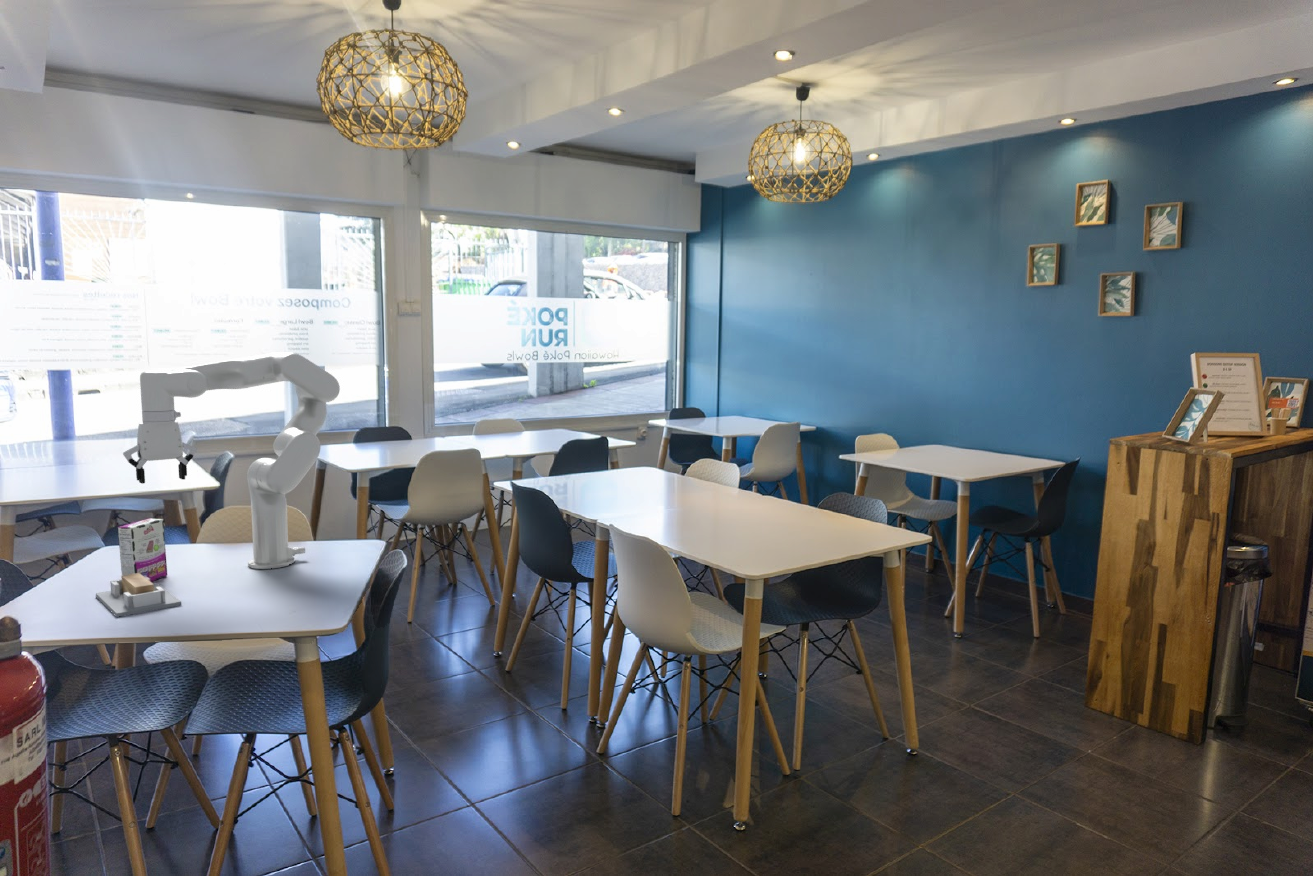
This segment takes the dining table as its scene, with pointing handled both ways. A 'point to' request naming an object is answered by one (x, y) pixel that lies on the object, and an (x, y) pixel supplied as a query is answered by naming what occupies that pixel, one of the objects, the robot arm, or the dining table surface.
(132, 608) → the board
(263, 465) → the robot arm
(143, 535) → the candy bar box
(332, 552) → the dining table surface
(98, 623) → the dining table surface
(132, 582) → the oak block
